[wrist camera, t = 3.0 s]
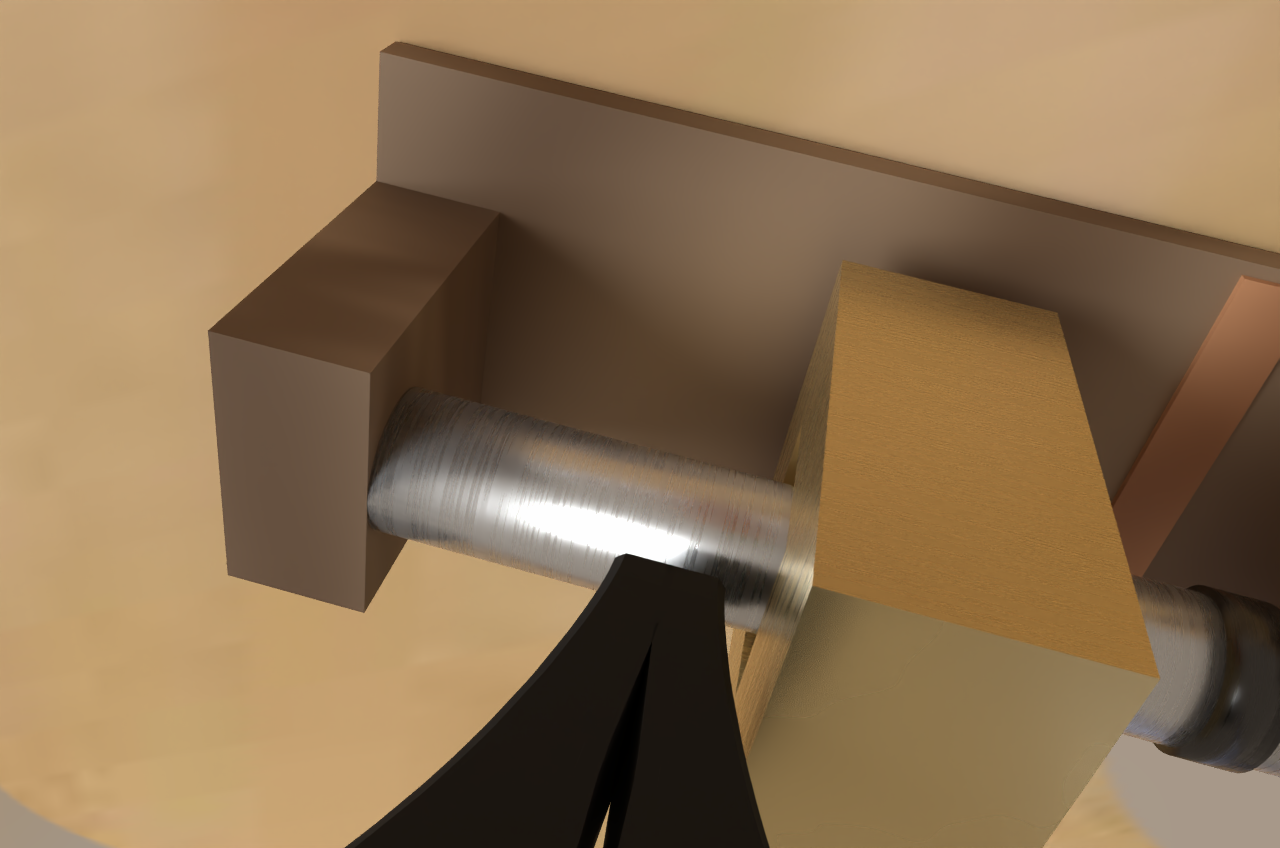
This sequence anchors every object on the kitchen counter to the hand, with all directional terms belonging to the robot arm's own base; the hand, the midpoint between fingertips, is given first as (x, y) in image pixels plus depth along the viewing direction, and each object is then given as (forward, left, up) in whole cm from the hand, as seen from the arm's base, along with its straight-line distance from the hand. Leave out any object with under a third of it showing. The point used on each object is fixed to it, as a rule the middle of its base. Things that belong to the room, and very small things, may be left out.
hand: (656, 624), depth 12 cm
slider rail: (0, -3, -6) cm, 7 cm away
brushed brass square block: (0, -3, -5) cm, 5 cm away
